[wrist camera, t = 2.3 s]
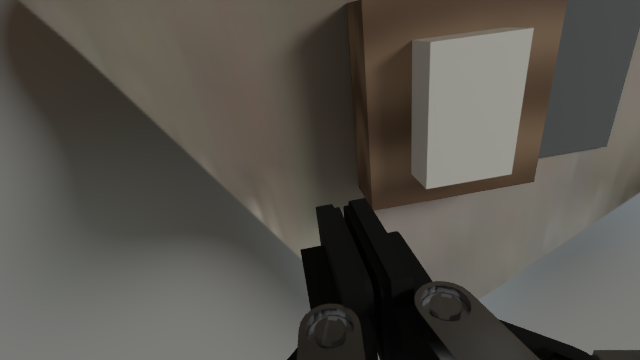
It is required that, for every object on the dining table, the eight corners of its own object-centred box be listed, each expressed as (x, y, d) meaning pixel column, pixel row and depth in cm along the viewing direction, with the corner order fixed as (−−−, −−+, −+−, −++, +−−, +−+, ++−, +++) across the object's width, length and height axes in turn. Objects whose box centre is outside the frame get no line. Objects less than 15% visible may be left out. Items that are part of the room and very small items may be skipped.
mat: (525, -19, 24) (528, -20, 23) (652, -35, 24) (657, -36, 24) (501, 162, 30) (503, 164, 29) (603, 145, 30) (606, 146, 30)
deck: (346, 3, 22) (361, -1, 19) (525, -19, 24) (572, -27, 20) (359, 187, 28) (372, 210, 25) (501, 162, 30) (533, 181, 26)
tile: (412, 40, 20) (430, 42, 18) (504, 27, 21) (533, 27, 18) (411, 173, 24) (426, 189, 22) (489, 160, 25) (511, 174, 22)
